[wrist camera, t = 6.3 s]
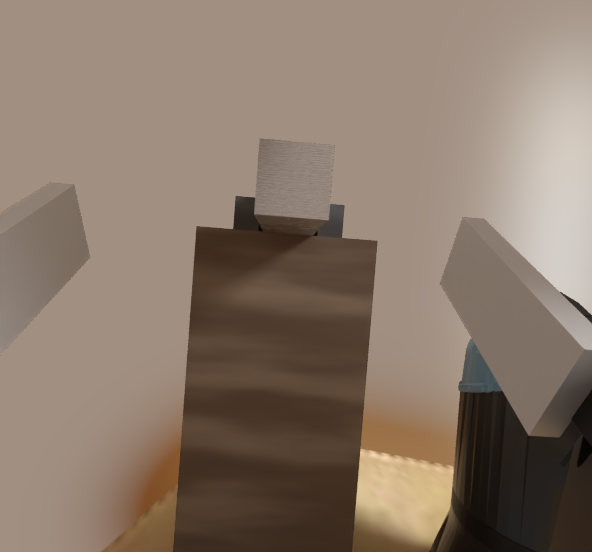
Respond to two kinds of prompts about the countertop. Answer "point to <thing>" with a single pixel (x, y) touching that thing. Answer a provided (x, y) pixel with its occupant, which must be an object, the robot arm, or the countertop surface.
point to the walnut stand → (274, 388)
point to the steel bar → (293, 186)
